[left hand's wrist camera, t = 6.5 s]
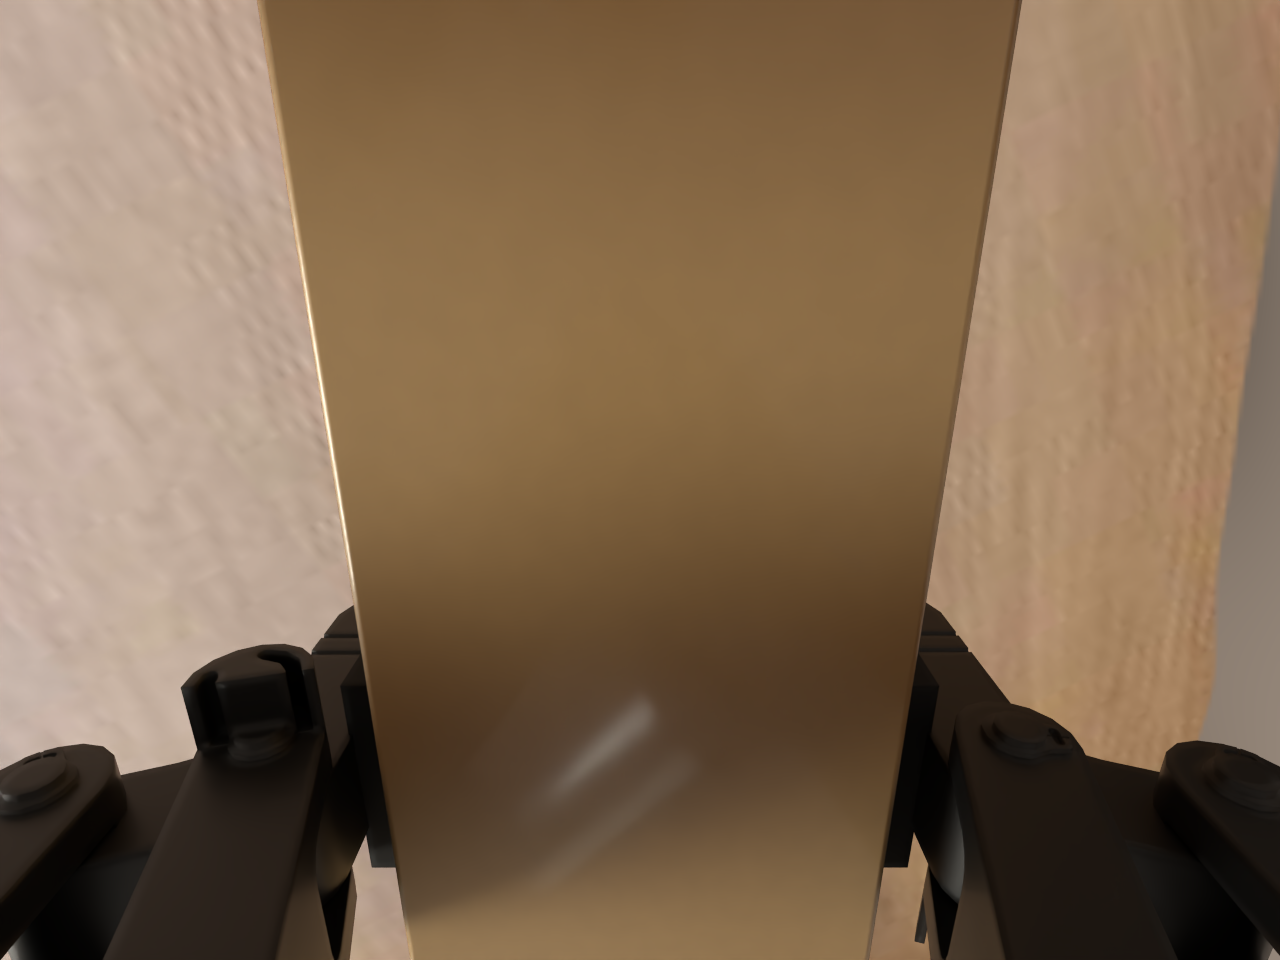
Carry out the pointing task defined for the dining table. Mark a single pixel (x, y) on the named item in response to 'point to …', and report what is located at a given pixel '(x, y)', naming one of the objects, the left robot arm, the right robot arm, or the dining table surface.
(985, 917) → the left robot arm
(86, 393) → the dining table surface
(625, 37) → the bar
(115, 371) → the dining table surface
